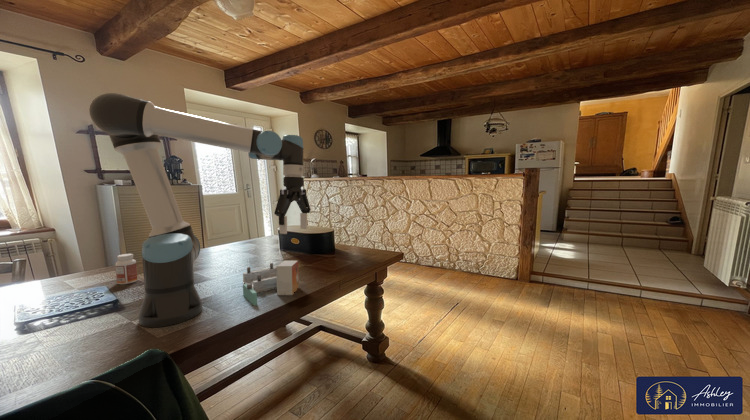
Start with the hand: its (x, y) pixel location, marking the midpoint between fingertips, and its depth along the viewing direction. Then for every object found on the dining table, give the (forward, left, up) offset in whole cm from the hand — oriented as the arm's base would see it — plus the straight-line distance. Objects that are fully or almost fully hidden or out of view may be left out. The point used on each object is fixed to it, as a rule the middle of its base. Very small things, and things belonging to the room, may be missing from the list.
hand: (294, 231), depth 110 cm
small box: (-6, -8, -21) cm, 23 cm away
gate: (-19, -7, -21) cm, 29 cm away
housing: (-10, +5, -21) cm, 23 cm away
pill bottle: (-51, +43, -21) cm, 70 cm away
